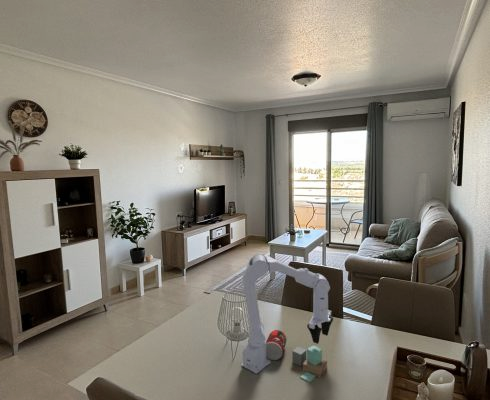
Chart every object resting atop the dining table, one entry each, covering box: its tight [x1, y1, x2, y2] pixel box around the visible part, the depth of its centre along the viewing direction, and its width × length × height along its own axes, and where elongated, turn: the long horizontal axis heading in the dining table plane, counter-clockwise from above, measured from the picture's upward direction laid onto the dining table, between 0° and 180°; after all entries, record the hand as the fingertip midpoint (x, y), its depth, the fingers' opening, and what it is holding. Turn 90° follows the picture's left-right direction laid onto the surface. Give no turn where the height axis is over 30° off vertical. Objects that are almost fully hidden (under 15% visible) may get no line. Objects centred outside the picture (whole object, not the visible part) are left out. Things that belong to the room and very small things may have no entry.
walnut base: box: [302, 358, 328, 378], centre depth 123 cm, size 7×7×4 cm
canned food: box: [266, 329, 288, 361], centre depth 135 cm, size 8×8×11 cm
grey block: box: [291, 346, 307, 367], centre depth 128 cm, size 4×4×5 cm
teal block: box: [306, 345, 323, 366], centre depth 123 cm, size 4×4×5 cm
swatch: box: [300, 372, 316, 383], centre depth 119 cm, size 4×4×1 cm
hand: (320, 338), depth 127 cm, fingers open, 7 cm apart
